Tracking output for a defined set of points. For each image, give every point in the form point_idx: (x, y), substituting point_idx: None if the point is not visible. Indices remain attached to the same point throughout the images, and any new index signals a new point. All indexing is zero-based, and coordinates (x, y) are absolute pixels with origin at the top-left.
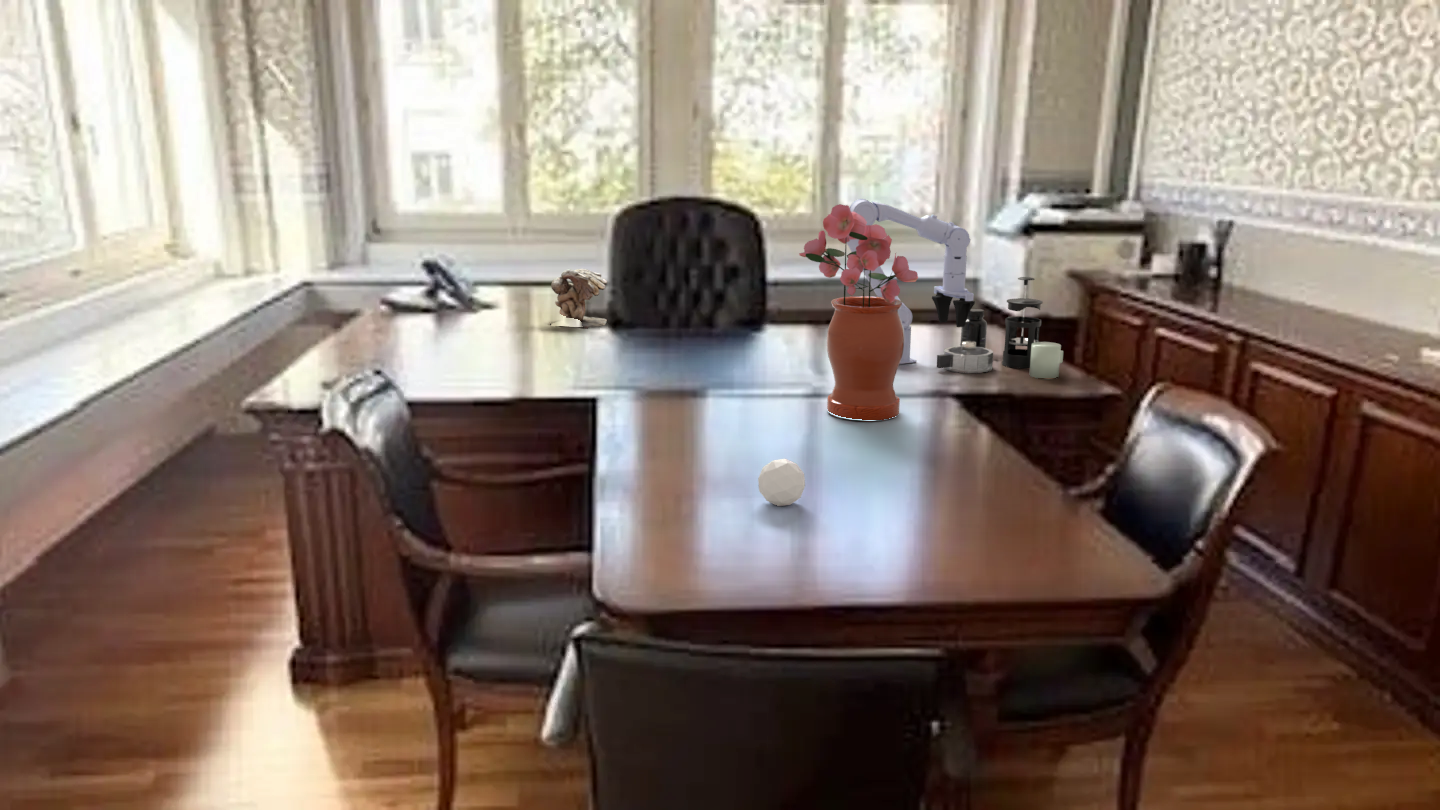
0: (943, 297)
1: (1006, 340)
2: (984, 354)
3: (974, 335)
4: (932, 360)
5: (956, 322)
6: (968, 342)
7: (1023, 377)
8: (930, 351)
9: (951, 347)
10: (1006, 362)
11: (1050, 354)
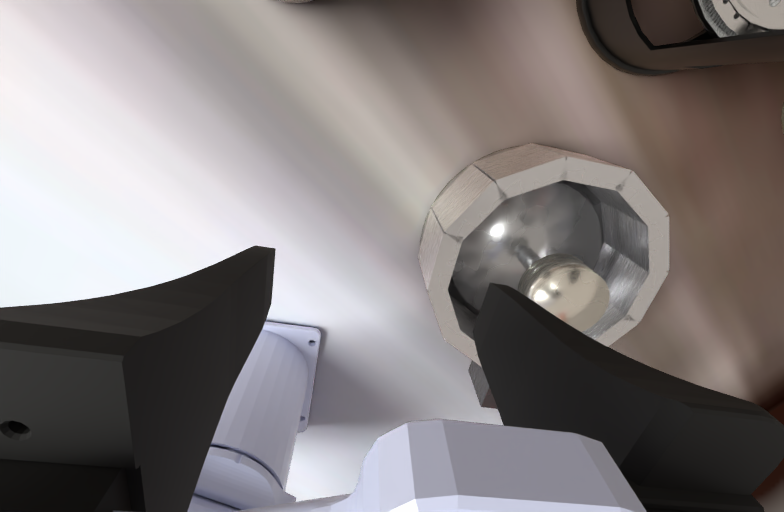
0: (157, 494)
1: (738, 56)
2: (651, 282)
3: None
4: (321, 252)
5: (484, 361)
6: (569, 309)
7: (770, 187)
8: (139, 109)
9: (441, 290)
10: (642, 67)
11: None
